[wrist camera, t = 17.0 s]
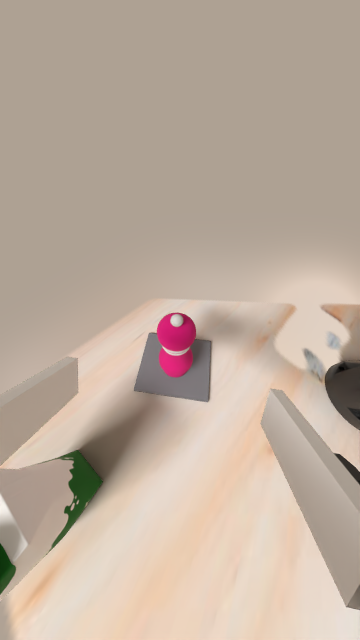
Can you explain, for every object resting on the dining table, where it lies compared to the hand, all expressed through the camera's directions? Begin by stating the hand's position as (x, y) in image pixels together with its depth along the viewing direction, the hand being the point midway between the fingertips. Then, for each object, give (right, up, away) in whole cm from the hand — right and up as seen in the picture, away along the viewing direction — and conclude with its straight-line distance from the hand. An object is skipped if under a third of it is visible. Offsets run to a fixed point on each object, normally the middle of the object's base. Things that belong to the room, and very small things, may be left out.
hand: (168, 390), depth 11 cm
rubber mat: (0, -6, +28) cm, 29 cm away
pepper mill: (0, -6, +28) cm, 28 cm away
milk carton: (-17, -23, +17) cm, 34 cm away
